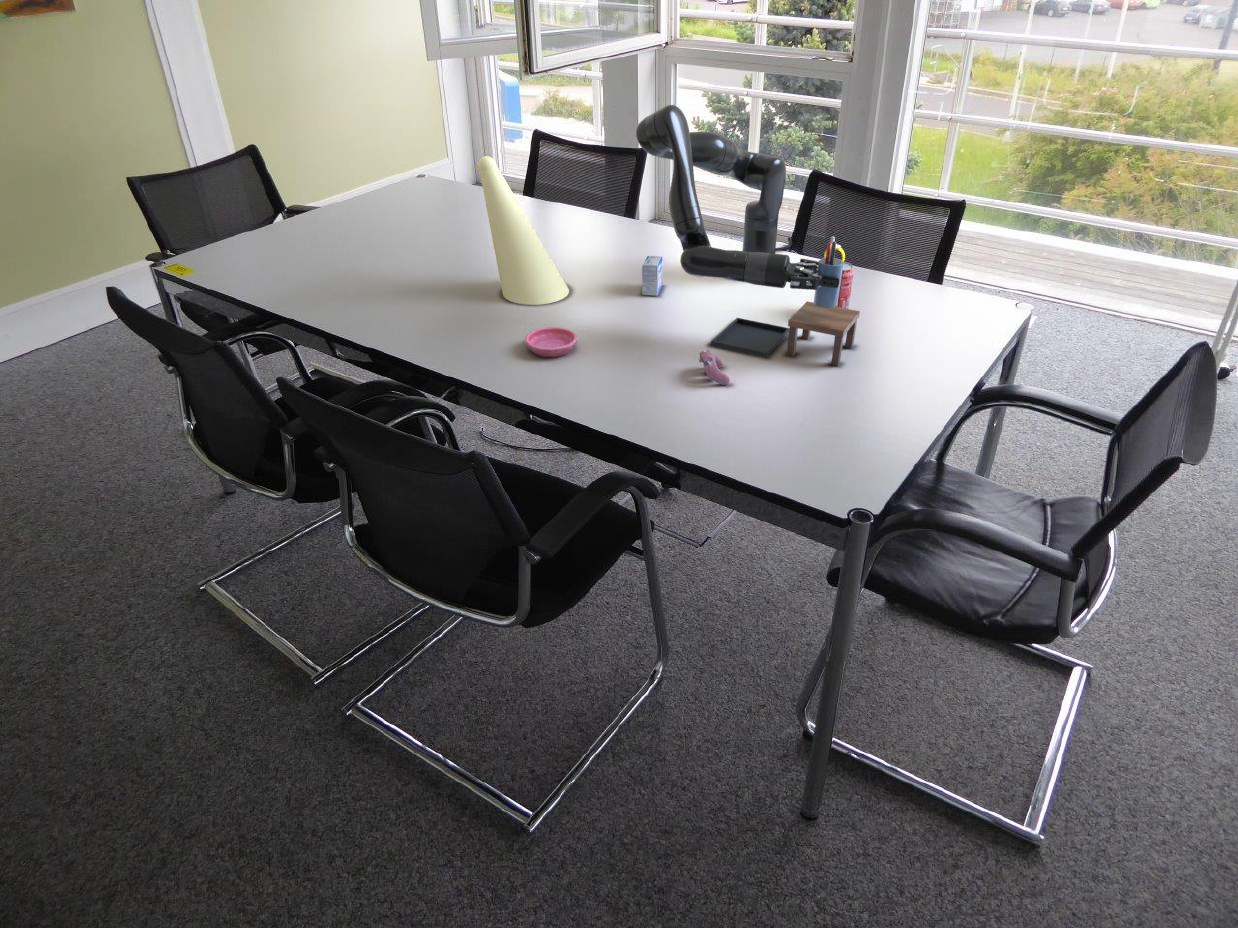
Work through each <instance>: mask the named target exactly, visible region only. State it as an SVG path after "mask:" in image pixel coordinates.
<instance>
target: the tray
mask: <svg viewBox="0 0 1238 928" xmlns="http://www.w3.org/2000/svg"><path fill="white" fill-rule="evenodd" d="M788 336H789V327H786V326H780V325H776V324H771V323H766V322H761V321H755V320H751V319H745V318H741V317H736V318H735V319H734V320H733V321H732V322H731V323H729V324H728V325H727V327H725V328H724V329H723V330H722V331H721V332H720V333H718V335H716V336H715V337H714V338H713V339H712V340H711V341H710V342H711V343H710V346H712V347H716V348H720V349H725V350H731V351H735V352H738V353H743V354H747V355H752V356H758V357H762V358H768V357H769V356H770V355H771V354H772V352H773V351H774V350H776V348H777V347H778V346H779V345H780V344H781V343H782V342H783V341H784V340H785V338H786V337H788Z"/></svg>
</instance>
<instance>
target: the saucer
mask: <svg viewBox="0 0 1238 928" xmlns="http://www.w3.org/2000/svg"><path fill="white" fill-rule="evenodd" d="M524 342H525V345H526V346H527V348H528V349H529V350H530V351H531V352H532V353H534V354H535V355H536V356H539V357H542V358H557V357H562V356H565V355H568V354H569V353H570V352H571V350H572V349H574V348H575V346H576V345H577V343H578V335H577V334H576V333H575V331H573V330H571V329H569V328H566V327H559V326H548V327H541V328H537V329H534V330H532V331H530V332H529V333H527V334H526V336H525V338H524Z"/></svg>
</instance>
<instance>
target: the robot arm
mask: <svg viewBox="0 0 1238 928" xmlns="http://www.w3.org/2000/svg"><path fill="white" fill-rule="evenodd" d="M635 136H636V137H635V138H636V140H637V143H638V145H639V146H640V147H641V148H642V150H643V151H645V152H646V154H647V153H648V154H649V155H651V156H653V157H657V158H661V159H665V160H666V159H667V160H672V161H673V165H672V166H673V168H672V176H671V182H670V187H669V193H668V194H669V195H668V208H669V209H668V210H669V214H670V217H671V221H672V225H673V229H674V233H675V235H676V237H677V238H678V240H679V241H680V244H681V248H682V252H681V255H680V260H679V261H680V263H679V264H680V266H681V269H682V270H683V271H684V272H685V273H686V274H688V275H690V276H692V277H695V278H705V277H708V278H720V279H724V280H727V281H731V282H738V283H745V284H749V285H750V284H751V285H754V286H761V287H769V288H778V289H784V288H785V287H786V285H787V283H789V284H790V285H789V288H790V289H793V290H809V291H810V290H811V291H815V290H816V289H817V287H821V286H824V287H832V288H838V286H839V281H840V279H839V278H838V277H829V276H823V278H822V276H821V275H818V274H817V273H818V265H819V260H818V261H817V260H812V259H808V258H800V259H799V261H798V262H791V258H790V255H788V254H782V253H781V254H780V253H776V252H778V251H779V252H781V251H785V250H787V249H790V248H791V247H792V245H793V241H792V240H793V239H792V238H791V237H790V236H789V237H787V242H788V244H787V245H785V246H779V247H777V246H776V245H777V236H778V225H779V214H780V210H781V208H782V207H781V206H782V204H783V199H784V193H785V185H786V177H787V167H786V166H787V165H786V163H785V161H784V160H783V159H782V158H781V157H778V156H773V155H771V154H765V153H760V152H752V151H747V150H743V149H741V148H739V146H738V145H737V144H736V143H735V142H734V141H733V140H732V139H730V138H728V137H727V136H724V135H721V134H719V133H716V132H713V131H690V128H689V123H688V120H687V117H686V116H685V114H684V112H683V110H681V108H680V107H679V106H676V105H675V104H668V105H666V106H663V107H662V108H660V109H658V110H655V112H653V113H651V114H649V115H647V116H645V117H644V118H643V119H642V120H640V121H639V123H638V124H637V127H636V130H635ZM694 167H695V168H697V169H700V170H702V171H705V172H708V173H711V174H713V175H717V176H720V177H730V178H732V179H734V180H736V181H738V182H739V183H741V184H742V185H744V186H746V187H747V188H750V189H753V190H756V191H760V195H759V199H758V200H753V201H750V202H748V203H747V204H746V205H745V209H744V223H743V236H742V237H743V238H742V250H736V249H734V250H733V249H722V248H717V247H712V245H711V242H710V239H709V237H708V234H707V231H706V229H705V224H704V219H703V216H702V215H703V213H702V209H701V207H700V203H699V199H698V194H697V190H696V182H695V173H694ZM842 275H843V270H842ZM841 278H842V277H841Z"/></svg>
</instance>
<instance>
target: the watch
mask: <svg viewBox="0 0 1238 928" xmlns="http://www.w3.org/2000/svg"><path fill="white" fill-rule="evenodd" d="M826 251H827V249H826V250H825V251H824V255H823V258H826ZM836 251H839V252H840V254H841V260H842V261H843V262H845V260H846V253H845V250H844V249H843V248H842V245H840V244H836Z"/></svg>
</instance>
